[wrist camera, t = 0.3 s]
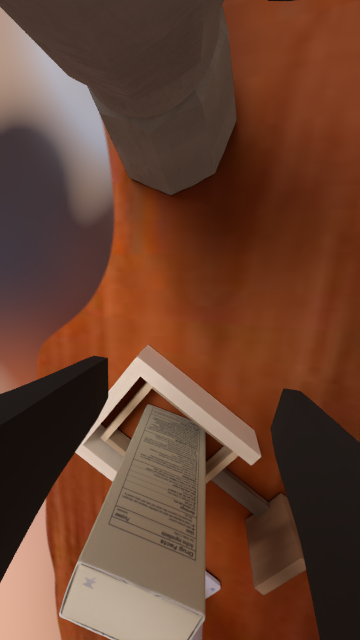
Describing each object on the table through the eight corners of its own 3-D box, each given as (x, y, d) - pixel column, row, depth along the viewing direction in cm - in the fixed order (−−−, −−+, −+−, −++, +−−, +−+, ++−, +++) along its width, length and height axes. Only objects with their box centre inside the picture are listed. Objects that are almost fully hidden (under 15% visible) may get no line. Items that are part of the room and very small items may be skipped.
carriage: (241, 534, 23) (249, 604, 18) (107, 427, 23) (78, 469, 18) (301, 490, 21) (328, 555, 16) (154, 371, 21) (137, 402, 16)
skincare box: (134, 435, 23) (49, 616, 11) (147, 401, 22) (69, 558, 10) (193, 461, 22) (172, 677, 10) (210, 427, 21) (207, 624, 9)
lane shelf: (178, 498, 23) (174, 529, 21) (84, 423, 23) (65, 444, 20) (254, 430, 21) (261, 456, 18) (147, 344, 20) (137, 356, 17)
